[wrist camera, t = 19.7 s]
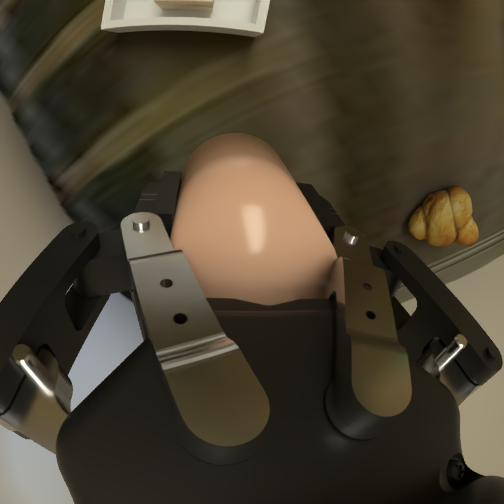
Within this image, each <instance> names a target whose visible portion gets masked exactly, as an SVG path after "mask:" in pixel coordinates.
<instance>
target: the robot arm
mask: <svg viewBox="0 0 504 504" xmlns="http://www.w3.org/2000/svg"><path fill="white" fill-rule="evenodd" d="M181 177H182V173H181V172H167V171H165V172H164V175H163V177H162V180H161V182H151V183H150V184H148V185H147V186H145V187H144V190H143V192H142V195H141V197H140V200H139V202H138V204H137V206H136V209H135V211H134V214H131V215H129V216H127V217H125V218H124V219H123V220H122V222H121V228H120V229H117V230H114V231H109V232H104V233H98V228H97V226H96V225H95V224H93V223H91V222H76V223H73V224H71V225H69V226H67V227H66V228H64V229H63V230H62V231H61V232H60V233H59V234H58V235H57V236H56V237H55V238H54V239H53V240H52V241H51V242H50V244H49V245H48V246H47V247H46V248H45V249H44V250H43V251H42V252H41V253H40V254H39V256H38V257H37V258H36V259H35V260H34V261H33V262H32V264H31V265H30V266H29V267H28V268H27V270H26V271H25V272H24V273H23V274H22V276H21V277H20V278H19V279H18V281H17V282H16V283H15V284H14V285H13V287H12V288H11V289H10V291H9V292H8V293H7V294H6V296H5V297H4V298H3V300H2V301H1V302H0V424H1V425H2V426H4V427H5V428H7V429H9V430H12V431H13V432H15V433H16V434H18V435H19V436H21V437H23V438H25V439H31V440H33V441H34V442H36V443H38V444H39V445H41V446H42V447H44V448H46V449H47V450H49V451H51V452H53V453H54V454H56V458H57V463H58V467H59V469H60V472H61V474H62V476H63V478H64V481H65V482H66V485H67V487H68V489H69V491H70V494H71V496H72V498H73V501H74V504H504V478H502V477H498V476H483V475H480V474H478V473H476V472H474V471H472V470H471V469H470V468H468V466H467V465H466V464H465V461H464V458H463V455H462V450H461V441H460V412H459V408H458V406H459V405H460V404H461V403H462V402H463V401H464V400H465V399H466V398H467V397H468V396H469V395H471V394H472V393H473V392H474V391H476V390H477V389H478V388H479V387H481V386H482V385H483V384H484V383H485V382H487V381H488V380H489V379H490V378H491V377H492V376H494V375H495V374H496V373H497V372H498V371H499V370H500V369H501V368H502V356H501V354H500V352H499V350H498V348H497V347H496V345H495V344H494V343H493V341H492V340H491V339H490V337H489V336H488V335H487V334H486V332H485V331H484V330H483V329H482V328H481V326H480V325H479V324H478V322H477V321H476V320H475V319H474V318H473V316H472V315H471V314H470V313H469V312H468V310H467V309H466V308H465V307H464V306H463V305H462V303H461V302H460V301H459V300H458V299H457V298H456V297H455V295H453V293H452V292H451V291H450V290H449V289H448V288H447V287H446V286H445V284H444V283H443V282H442V281H441V280H440V279H439V278H438V277H437V276H436V275H435V274H434V273H433V272H432V271H431V270H430V269H429V268H428V267H427V266H426V265H425V263H424V262H423V261H422V260H421V259H420V258H419V257H418V256H417V255H416V254H415V253H413V252H412V251H411V250H410V249H409V248H408V247H407V246H405V245H404V244H402V243H400V242H397V241H388V242H387V243H386V245H385V247H384V249H383V250H381V249H378V248H375V247H371V246H369V244H368V240H367V238H366V237H365V236H364V235H363V234H362V233H361V232H360V231H358V230H356V229H354V228H351V227H348V226H345V225H344V223H343V222H342V220H341V219H340V217H339V216H338V215H337V213H336V211H335V210H334V209H333V207H332V206H331V204H330V203H329V202H328V201H327V200H326V199H324V198H323V197H322V196H319V194H318V193H317V192H316V190H315V189H314V187H313V186H312V185H311V184H304V183H296V184H297V186H298V187H299V189H300V190H301V192H302V194H303V195H304V197H305V199H306V200H307V202H308V204H309V205H310V207H311V209H312V210H313V212H314V214H315V215H316V217H317V219H318V221H319V222H320V224H321V226H322V227H323V229H324V231H325V233H326V234H327V236H328V238H329V240H330V242H331V243H332V245H333V247H334V249H335V252H336V255H337V259H335V262H334V264H333V266H332V269H331V271H330V277H329V281H328V284H327V286H326V288H325V291H324V293H323V295H322V297H321V299H298V300H293V301H289V302H285V303H280V304H276V305H262V304H258V303H253V302H248V301H243V300H238V299H234V298H206V297H205V295H204V293H203V291H202V289H201V287H200V285H199V283H198V281H197V279H196V277H195V275H194V273H193V271H192V269H191V267H190V265H189V263H188V261H187V259H186V257H185V255H184V253H183V251H182V250H181V249H178V250H174V248H173V246H172V243H171V241H170V236H171V232H172V227H173V221H174V216H175V210H176V205H177V199H178V194H179V189H180V184H181ZM72 283H73V285H72ZM402 283H403V284H404V285H405V286H406V287H407V288H408V290H409V291H410V292H411V293H412V294H413V295H414V296H415V298H416V300H417V308H416V310H415V312H414V313H413V314H412V316H410V315H409V314H408V312H407V311H406V310H405V309H404V307H403V306H402V305H401V304H400V303H399V301H398V300H397V299H396V298H395V297H394V295H395V293H396V292H397V290H398V288H399V287H400V285H401V284H402ZM71 285H72V287H71V288H70V286H71ZM69 288H70V290H69V291H68V292H67V290H68V289H69ZM127 290H130V291H131V295H132V299H133V303H134V307H135V310H136V314H137V318H138V321H139V325H140V329H141V333H142V336H143V340H144V342H143V343H142V344H141V345H139V346H138V347H137V348H136V349H135V350H134V351H133V352H132V353H131V354H130V355H129V356H128V357H127V358H126V359H125V360H124V361H123V362H122V363H121V364H120V365H119V366H118V367H117V368H116V369H115V370H114V371H113V372H112V373H111V374H110V375H109V376H108V377H107V378H105V379H104V381H102V383H101V384H99V385H98V386H97V387H96V388H95V389H94V390H93V391H92V392H91V393H90V394H89V395H88V396H87V397H86V398H85V399H84V400H83V401H82V402H81V403H80V404H79V405H78V406H77V407H76V408H75V409H74V410H73V411H72V412H71V409H70V402H71V398H72V394H73V386H72V382H71V380H70V378H69V377H68V374H69V372H70V369H71V367H72V365H73V363H74V361H75V359H76V357H77V355H78V353H79V351H80V349H81V348H82V345H83V344H84V342H85V340H86V338H87V336H88V334H89V332H90V331H91V329H92V327H93V325H94V323H95V322H96V320H97V318H98V316H99V314H100V313H101V311H102V309H103V307H104V305H105V304H106V302H107V301H108V299H109V296H110V294H111V293H117V292H122V291H127ZM66 292H67V294H66Z"/></svg>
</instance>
